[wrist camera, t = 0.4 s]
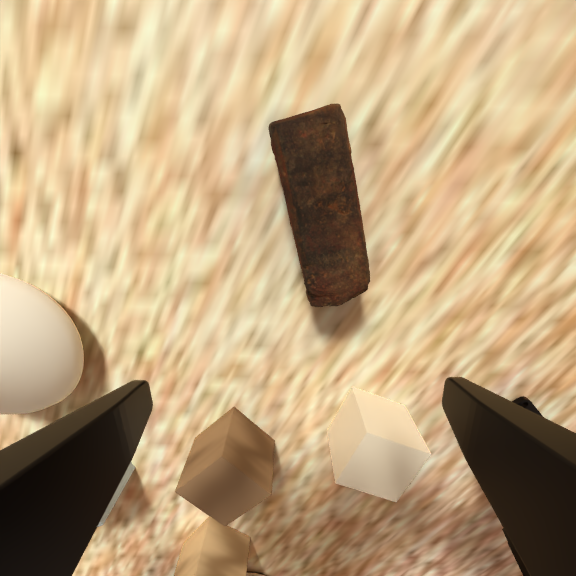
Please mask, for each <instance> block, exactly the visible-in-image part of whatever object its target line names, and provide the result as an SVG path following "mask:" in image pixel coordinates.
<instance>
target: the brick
mask: <svg viewBox="0 0 576 576" xmlns="http://www.w3.org/2000/svg"><path fill="white" fill-rule="evenodd" d="M269 134H270V138H271V146H272V151H273V153H274V155H275V160H276V163H277V167H278V170H279V175H280V179H281V183H282V187H283V191H284V195H285V200H286V204H287V209H288V214H289V218H290V224H291V227H292V231H293V235H294V240H295V244H296V248H297V252H298V257H299V261H300V265H301V269H302V273H303V278H304V284H305V286H306V294H307V297H308V300H309V302H310V305H311V306H314V307H323V306H328V305H329V306H338V305H342V304H343V303H345V302H347V301H349V300H350V299H352V298H354V297H356V296H358V295H360V294H361V293H363V292H365V291H366V290H367V289H368V284H369V282H370V271H369V262H368V256H367V250H366V242H365V235H364V230H363V223H362V217H361V210H360V204H359V198H358V192H357V185H356V180H355V174H354V167H353V163H352V159H351V147H350V143H349V138H348V132H347V124H346V118H345V116H344V113H343V111H342V109H341V106H340V104H330V105H327V106H324V107H321V108H318V109H315V110H312V111H309V112H305V113H302V114H299V115H295V116H292V117H289V118H286V119H282V120H278V121H274V122H272V123H270V124H269Z"/></svg>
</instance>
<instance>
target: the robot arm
mask: <svg viewBox="0 0 576 576" xmlns="http://www.w3.org/2000/svg"><path fill="white" fill-rule="evenodd" d="M442 406H443V409H444V412H445V414H446V416H447V418H448V421H449V423H450V425H451V428H452V430H453V432H454V434H455V437H456V439H457V441H458V444H459V446H460V448H461V450H462V453H463V455H464V457H465V459H466V461H467V463H468V465H469V466H470V468H471V470H472V472H473V474H474V475H475V477H476V479H477V481H478V483H479V484H480V486H481V488H482V490H483V492H484V493H485V495H486V497H487V499H488V501H489V502H490V504H491V506H492V508H493V509H494V511H495V513H496V515H497V517H498V518H499V520H500V522H501V524H502V526H503V527H504V528H503V529H502V530H503V532H504V534H505V536H506V538H507V540H508V544H509V547H510V549H511V551H512V553H513V555H514V557H515V559H516V561H517V563H518V565H519V567H520V569H521V572H522V574H523V576H576V433H574V432H572V431H570V430H568V429H566V428H564V427H562V426H560V425H558V424H556V423H554V422H552V421H550V420H548V419H545V418H544V417H543V416H542V415H541V413H540V412H539V411H538V410H537V409H536V407H535V406H534V405H533V404H532V402H531V401H530V400H529V399H527V398H526V397H524V396H523V397H519V398H517V399H516V400H514V401H513V402H511V401H509V400H507V399H505V398H503V397H501V396H499V395H497V394H495V393H493V392H491V391H489V390H487V389H485V388H483V387H481V386H479V385H477V384H475V383H473V382H471V381H469V380H467V379H465V378H462V377H448V378H447V379H446V380H445V385H444V391H443V397H442ZM152 407H153V402H152V397H151V392H150V387H149V383H148V382H147V381H146V380H134V381H131V382H129V383H127V384H125V385H123V386H122V387H120V388H118V389H116V390H114V391H112V392H110V393H108V394H106V395H105V396H103V397H101V398H99V399H97V400H95V401H93V402H91V403H89V404H87V405H86V406H84V407H82V408H80V409H78V410H76V411H74V412H72V413H70V414H68V415H67V416H65V417H63V418H61V419H59V420H57V421H55V422H53V423H51V424H50V425H48V426H46V427H44V428H42V429H40V430H38V431H36V432H34V433H32V434H31V435H29V436H27V437H25V438H23V439H21V440H19V441H17V442H15V443H14V444H12V445H10V446H8V447H6V448H4V449H2V450H0V576H72V574H73V572H74V570H75V568H76V567H77V565H78V563H79V561H80V559H81V557H82V555H83V553H84V551H85V549H86V547H87V545H88V543H89V542H90V540H91V538H92V536H93V534H94V532H95V530H96V528H97V526H98V524H99V522H100V520H101V518H102V517H103V515H104V513H105V511H106V509H107V507H108V505H109V503H110V501H111V499H112V497H113V495H114V493H115V492H116V490H117V488H118V486H119V484H120V482H121V480H122V478H123V476H124V474H125V472H126V470H127V468H128V466H129V464H130V462H131V460H132V458H133V456H134V454H135V451H136V449H137V446H138V444H139V441H140V439H141V436H142V434H143V431H144V429H145V426H146V424H147V421H148V419H149V416H150V414H151V411H152Z"/></svg>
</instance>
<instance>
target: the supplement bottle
mask: <svg viewBox="0 0 576 576" xmlns="http://www.w3.org/2000/svg"><path fill="white" fill-rule="evenodd" d="M246 576H265V575H262V574H257V573H246Z"/></svg>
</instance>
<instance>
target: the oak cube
mask: <svg viewBox="0 0 576 576" xmlns="http://www.w3.org/2000/svg"><path fill="white" fill-rule="evenodd" d="M249 545H250V537H249V536H247V535H245V534H243V533H241V532H239V531H237V530H235V529H233V528H231V527H229V526H227V525H226V526H223V525H222V524H220V523H219V522H217V521H216V520H215V519H213V518H212V517H210V516H209V517H208V518H207V519H206V520H205V521H204V522H203V523H202V524H201V526H200V527H199V528H198V529H197V530H196V531H195V532H194V533H193V534H192V535H191V536H190V537H189V538H188V539H187V540H186V541H185V542H184V543H183V547H182V550H181V553H180V557H179V560H178V563H177V567H176V570H175V573H174V576H246V572H247V563H248V554H249Z"/></svg>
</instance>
